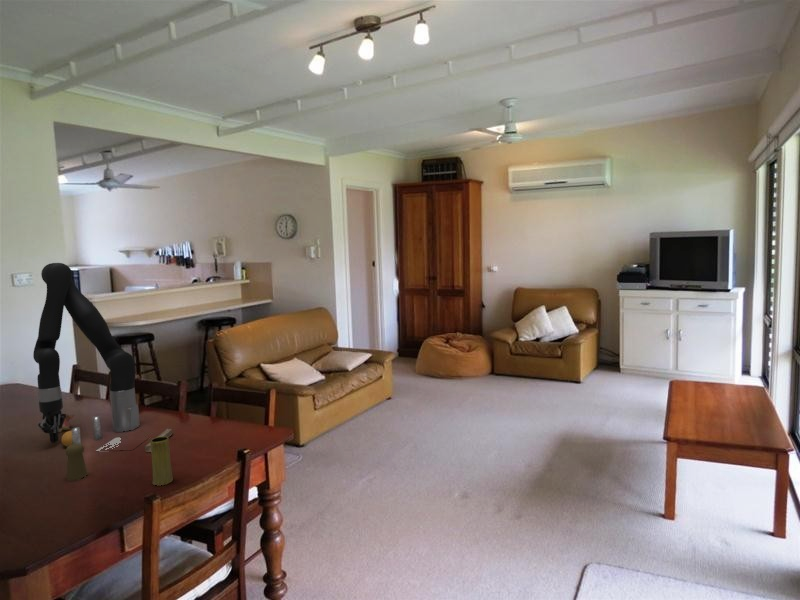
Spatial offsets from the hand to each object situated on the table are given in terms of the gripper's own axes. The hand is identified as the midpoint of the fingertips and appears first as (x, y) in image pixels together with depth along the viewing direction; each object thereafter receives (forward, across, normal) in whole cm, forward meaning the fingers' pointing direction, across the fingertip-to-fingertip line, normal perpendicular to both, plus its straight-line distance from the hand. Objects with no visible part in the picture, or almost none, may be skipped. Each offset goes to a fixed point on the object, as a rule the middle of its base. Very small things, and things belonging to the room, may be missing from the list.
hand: (54, 441), depth 204 cm
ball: (-2, -1, -7) cm, 7 cm away
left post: (+2, -7, -13) cm, 15 cm away
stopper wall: (+2, 0, -41) cm, 41 cm away
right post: (+2, +6, -13) cm, 15 cm away
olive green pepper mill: (+2, -29, -27) cm, 40 cm away
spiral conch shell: (+2, +18, +9) cm, 20 cm away
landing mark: (+2, 0, -27) cm, 27 cm away
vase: (+2, -34, -58) cm, 67 cm away
